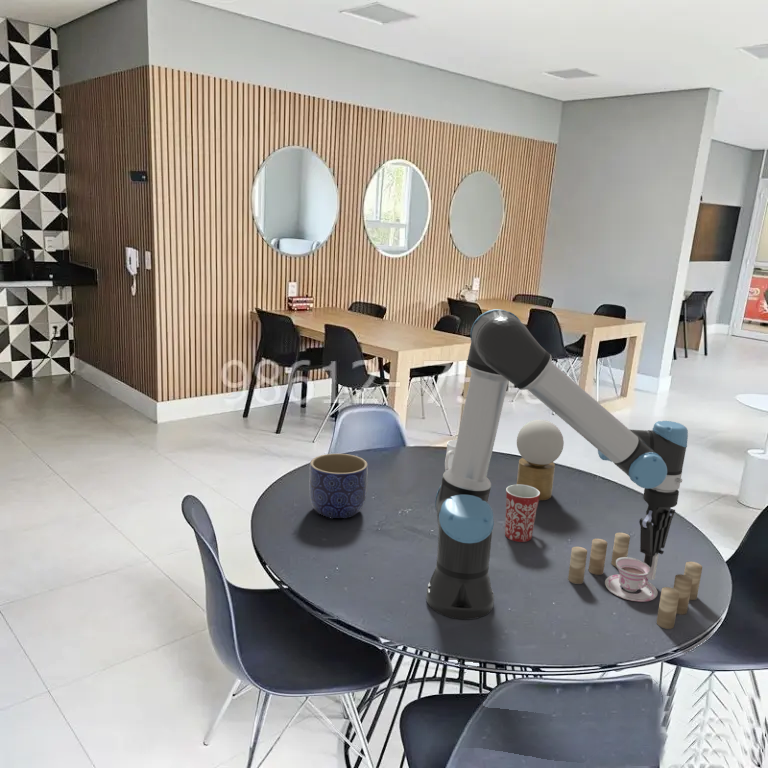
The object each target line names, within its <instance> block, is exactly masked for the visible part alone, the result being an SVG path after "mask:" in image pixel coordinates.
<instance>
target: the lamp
mask: <svg viewBox="0 0 768 768" xmlns="http://www.w3.org/2000/svg"><path fill="white" fill-rule="evenodd" d="M564 443H565V442H564V436H563V434H562V432H561V430H560V428H559V427H558V426H557V425H555V424H554V423H553V422H551V421H550V420H549V421H548V420H545V419H534V420H530V421H529V422H526V424H523V426H522V427H521V428H520V429H519V431H518V433H517V436H516V448H517V451H518V454H520V456H521V458H519V460H518V465H517V473H516V475H517V476H516V484H515V485H517V484H520V485H527V486H531V487H534V488H536V489H537V490H539V492H540V495H539V502H540V501H546V500H550V499H551V498H552V494H553V486H554V480H555V479H554V478H555V469H556V464H555V463H554V462H556V460H558V459H559V457H560V456H561V454H562V452H563V451H564V450H563V449H564Z"/></svg>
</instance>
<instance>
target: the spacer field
mask: <svg viewBox="0 0 768 768" xmlns="http://www.w3.org/2000/svg"><path fill="white" fill-rule="evenodd" d="M630 540H631V536H630V535H629V534H628V533H625V532H616V533H615V534H614V542H613V548H612V554H611V563H610V564H611V565H612V566H613V567H615V568H617V566H616V560H617V559H618V558H621V557H628V553H629V547H630ZM607 550H608V541H606V540H605V539H602V538H594V539H592V540H591V547H590V555H589V563H588V572H589V573H591V574H592V575H595V576H599V575H600V576H602V575H603V574H604V571H605V570H604V569H605V563H606V558H607V557H606V556H607ZM587 556H588V550H587V549H586V548H584V547H581V546H573V547H571V553H570V562H569V570H568V575H567V580H568V582H570V583H572V584H577V585H581V584H583V583H584V580H585V571H586V565H587V563H586V562H587ZM702 572H703V565H701V564H700V563H698V562H697V561H687V562H685V566H684V570H683V574H681V573H680V574H679V573H678V574H676V575H675V577H674V582H673V587H669V586H665V587H662V588H661V592H660V597H659V603H658V604H659V605H658V610H657V616H656V622H657V623H656V625H658V627H660V628H661V629H662V628H663V629H665V630H672V629H674V627H675V625H676V624H675V622H676V616H677V615H687V613H688V609H689V603H690V601H696V600H697V599H698V594H699V588H700V582H701V577H702Z"/></svg>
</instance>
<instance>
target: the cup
mask: <svg viewBox="0 0 768 768" xmlns="http://www.w3.org/2000/svg"><path fill="white" fill-rule="evenodd" d="M456 443H457V439H451V440H448V441H447V442H446V455H445V458H444V459H445V460H444V469H445V471H447V470H449V469H450V468H451V466H452V462H453V457H454V452H455V448H456Z"/></svg>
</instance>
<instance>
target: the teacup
mask: <svg viewBox="0 0 768 768" xmlns="http://www.w3.org/2000/svg"><path fill="white" fill-rule="evenodd" d="M616 566H617V567H616V568H617V570H618V573H617V574H612V575H609V576H607V578H605V581H604V585H605V588H606V589H607V590H608V591H609V592H610V593H611V594H614V595H615V596H617V597H618V598H622V599H624V600H628V601H632V602H638V603H639V602H642V603H643V602H650V601H653V600H655V599H656V598H657V597H658V590H657V587H656V586H655V585H654V584H653V583H651V582H650V581H649V579H647V577H646V576H647V575H648V574H649V573H651V568H650V567H649V566H648V565H647V564H646V563H644V561H643V560H640V559H638V558H635V557H629V556H627V557H621V558H618V559H617V560H616ZM622 588H623V589H622ZM638 590H640V592H639V593H637V591H638ZM650 592H651V593H650Z"/></svg>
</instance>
